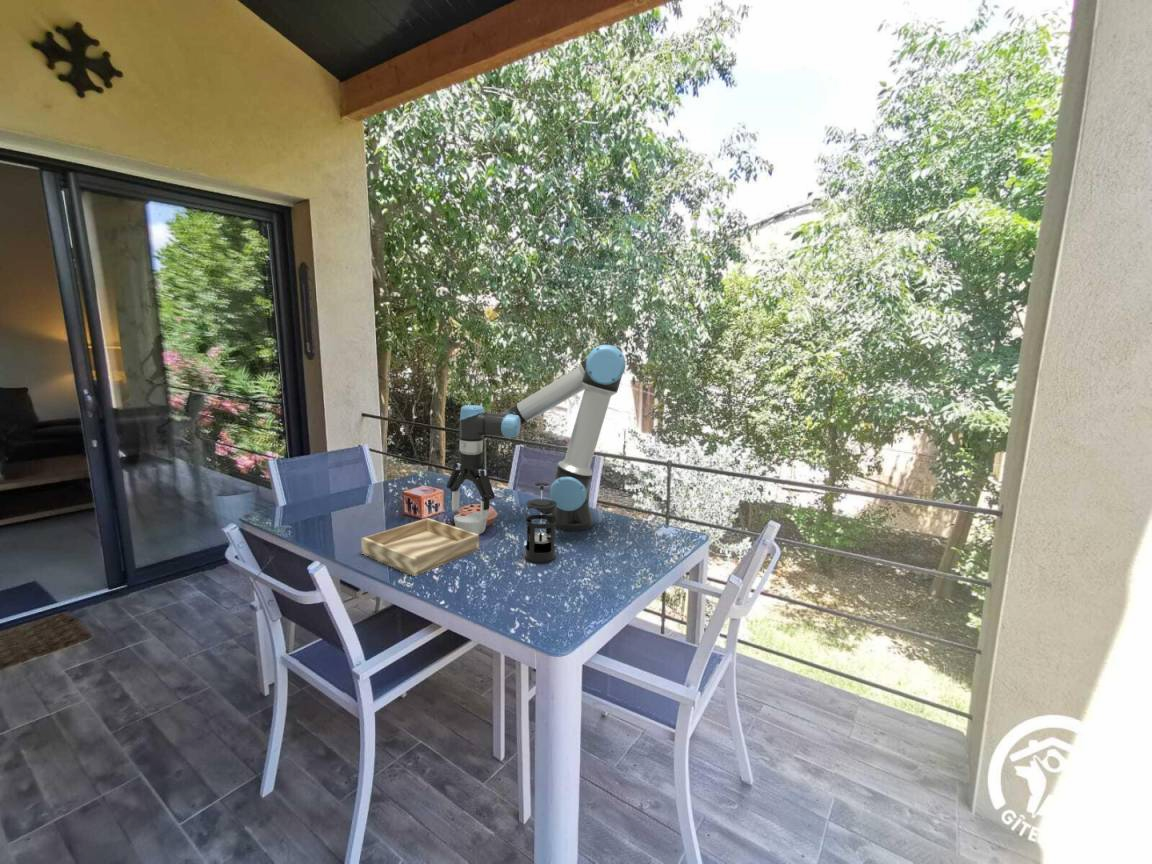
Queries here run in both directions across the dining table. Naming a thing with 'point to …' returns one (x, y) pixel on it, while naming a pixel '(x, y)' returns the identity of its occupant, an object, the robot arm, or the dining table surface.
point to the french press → (540, 539)
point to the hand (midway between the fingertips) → (469, 514)
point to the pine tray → (420, 545)
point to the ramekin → (470, 522)
